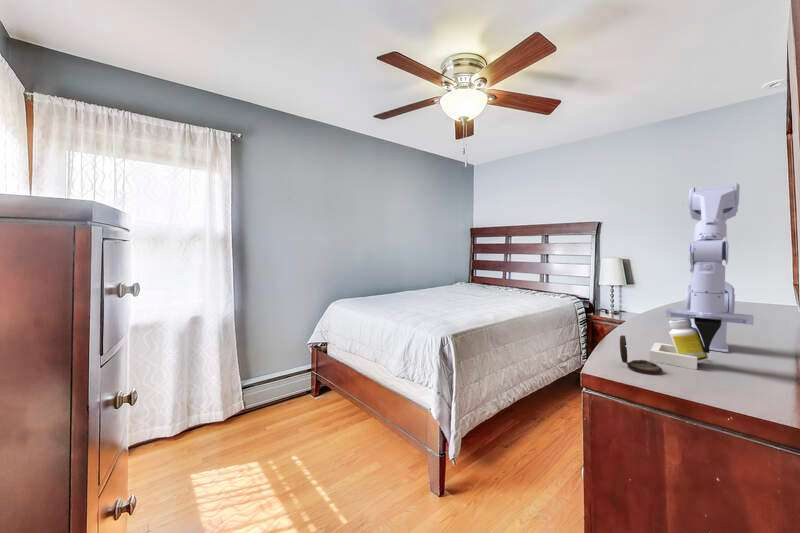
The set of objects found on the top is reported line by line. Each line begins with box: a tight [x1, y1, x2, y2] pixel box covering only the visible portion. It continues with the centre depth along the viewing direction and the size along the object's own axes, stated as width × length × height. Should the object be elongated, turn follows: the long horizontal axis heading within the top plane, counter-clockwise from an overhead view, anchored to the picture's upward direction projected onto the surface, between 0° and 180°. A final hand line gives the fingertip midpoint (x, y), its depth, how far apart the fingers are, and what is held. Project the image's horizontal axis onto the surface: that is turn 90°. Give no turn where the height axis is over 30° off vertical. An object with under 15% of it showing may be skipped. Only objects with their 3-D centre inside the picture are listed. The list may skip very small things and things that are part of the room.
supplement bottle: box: [668, 318, 709, 364], centre depth 78 cm, size 5×5×10 cm
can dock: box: [649, 342, 698, 370], centre depth 80 cm, size 10×8×2 cm
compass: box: [619, 334, 664, 375], centre depth 75 cm, size 8×8×7 cm
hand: (705, 351), depth 76 cm, fingers closed, pressing on supplement bottle
